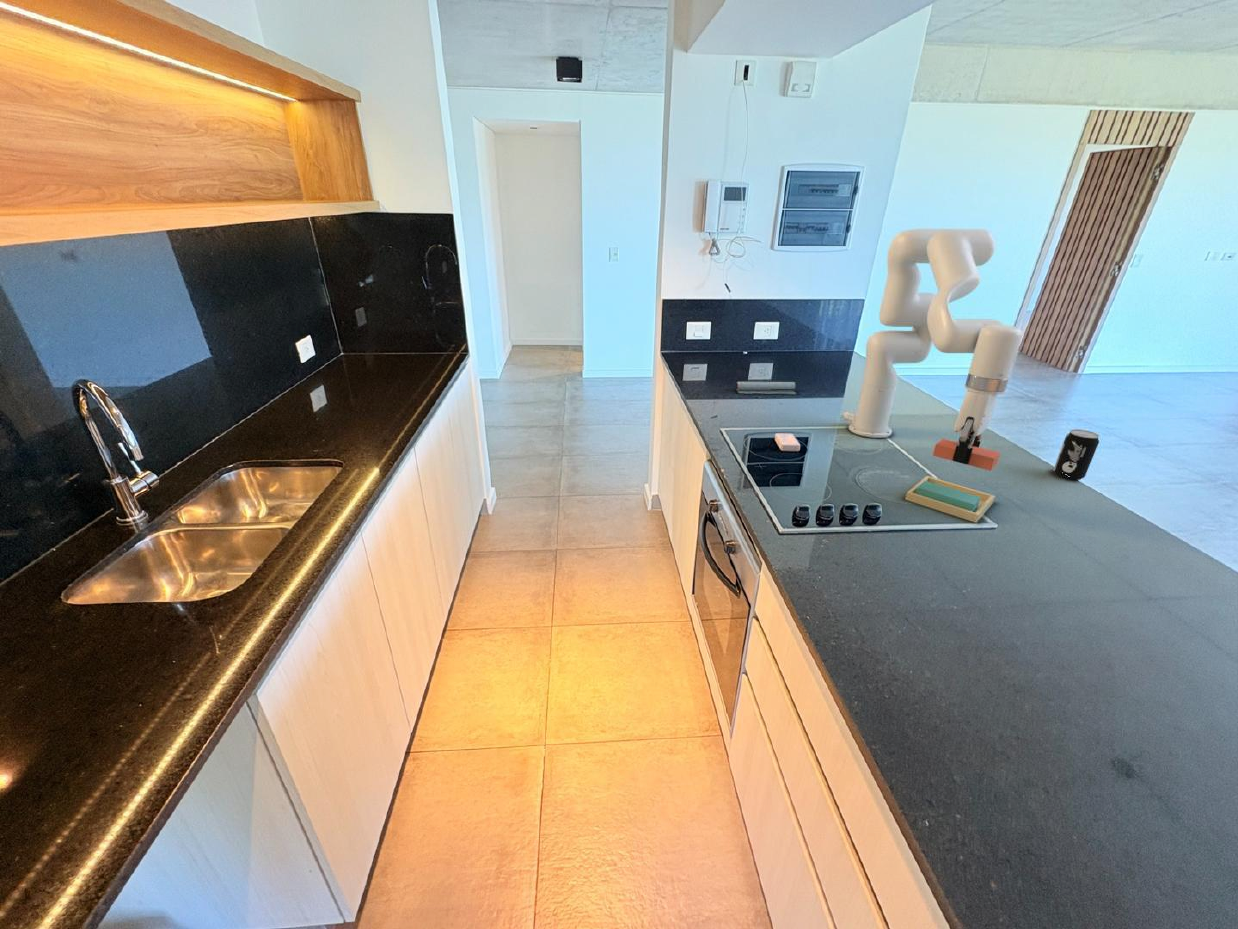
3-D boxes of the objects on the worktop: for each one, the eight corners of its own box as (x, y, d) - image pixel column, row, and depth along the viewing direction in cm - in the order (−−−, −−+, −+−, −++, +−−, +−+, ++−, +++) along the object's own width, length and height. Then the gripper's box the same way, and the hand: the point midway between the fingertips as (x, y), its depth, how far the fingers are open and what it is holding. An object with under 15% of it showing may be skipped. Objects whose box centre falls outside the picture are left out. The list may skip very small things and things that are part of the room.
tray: (905, 499, 127) (907, 492, 126) (924, 482, 135) (926, 475, 135) (976, 523, 117) (978, 515, 116) (992, 503, 125) (995, 495, 125)
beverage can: (1089, 482, 135) (1107, 438, 130) (1060, 480, 137) (1077, 437, 132) (1074, 471, 141) (1091, 429, 136) (1047, 469, 142) (1062, 427, 137)
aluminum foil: (792, 389, 211) (793, 380, 209) (797, 394, 204) (798, 385, 203) (735, 388, 211) (736, 380, 210) (738, 393, 205) (739, 385, 204)
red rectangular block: (932, 455, 126) (935, 443, 125) (939, 449, 129) (942, 438, 128) (990, 470, 118) (994, 458, 117) (996, 464, 121) (1000, 452, 120)
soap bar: (781, 451, 154) (782, 444, 153) (774, 440, 162) (775, 432, 161) (799, 452, 154) (800, 444, 153) (792, 440, 162) (793, 432, 161)
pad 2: (914, 498, 127) (917, 487, 126) (922, 491, 130) (924, 480, 129) (970, 516, 119) (974, 504, 118) (977, 508, 122) (981, 497, 121)
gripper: (978, 373, 124) (957, 445, 131) (954, 387, 113) (934, 464, 121) (1016, 379, 119) (992, 453, 126) (995, 394, 108) (971, 474, 116)
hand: (964, 458), depth 123 cm, fingers closed on red rectangular block, 5 cm apart
